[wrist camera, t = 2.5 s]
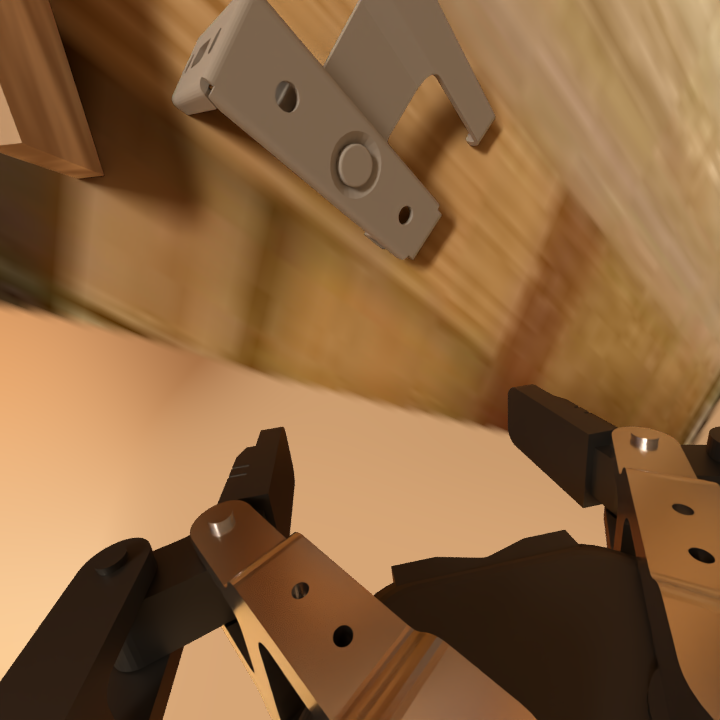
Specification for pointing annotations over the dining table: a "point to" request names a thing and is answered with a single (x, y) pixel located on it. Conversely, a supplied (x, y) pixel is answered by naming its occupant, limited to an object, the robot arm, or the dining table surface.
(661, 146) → the dining table surface
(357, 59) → the bracket
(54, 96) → the wooden corner joint
